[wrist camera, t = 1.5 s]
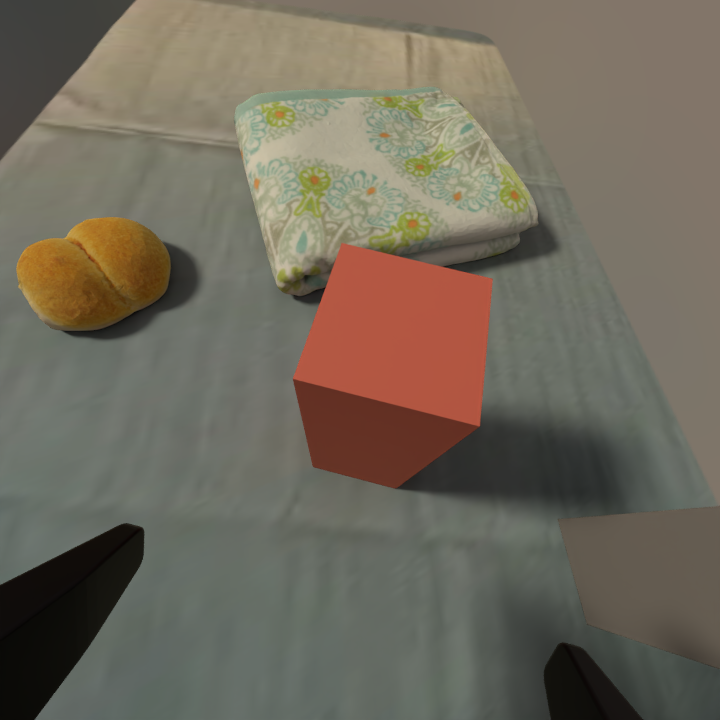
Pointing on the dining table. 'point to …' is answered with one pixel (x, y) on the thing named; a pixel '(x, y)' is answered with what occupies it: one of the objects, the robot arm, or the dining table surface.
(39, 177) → the dining table surface
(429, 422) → the red block
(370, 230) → the towel
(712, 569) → the gray block
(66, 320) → the bread roll
